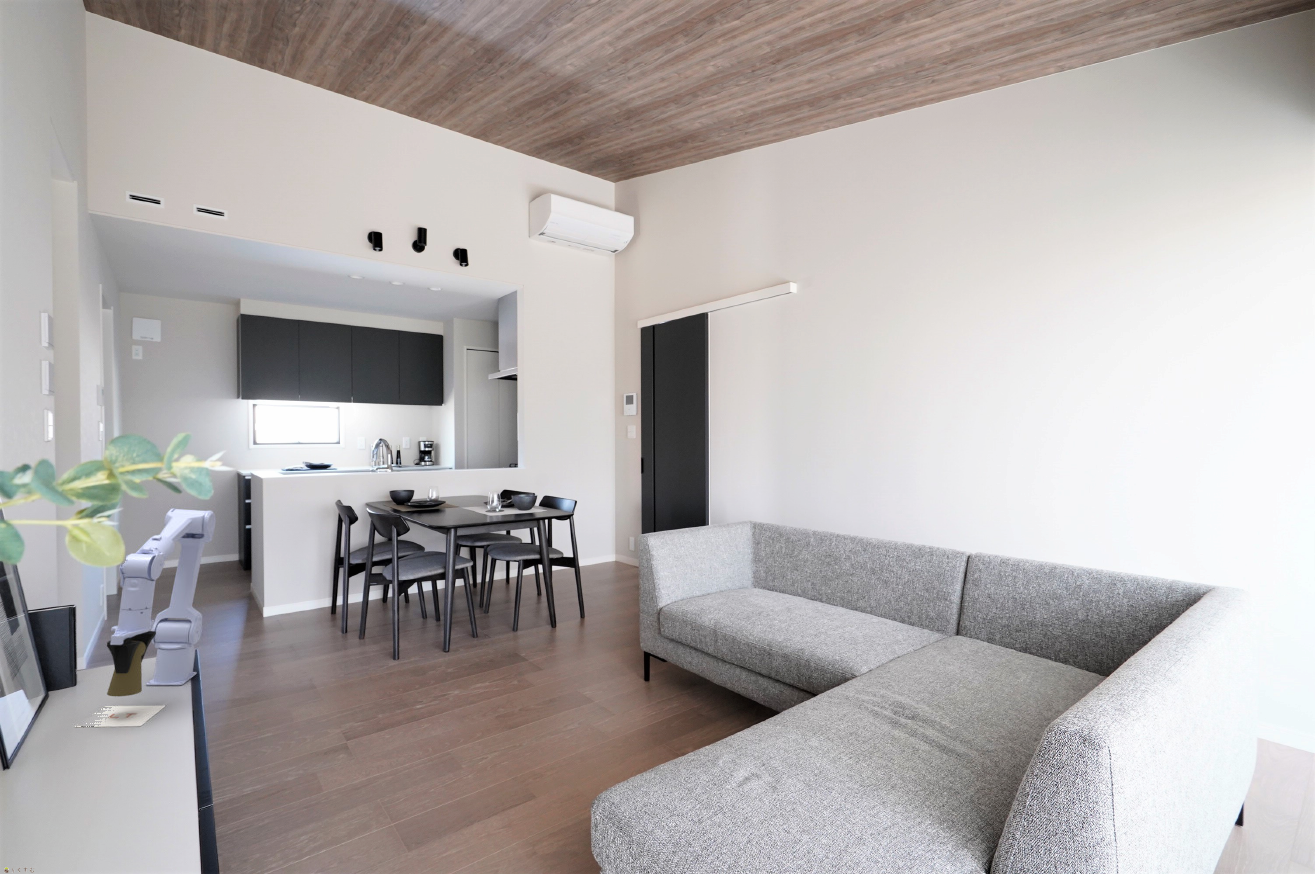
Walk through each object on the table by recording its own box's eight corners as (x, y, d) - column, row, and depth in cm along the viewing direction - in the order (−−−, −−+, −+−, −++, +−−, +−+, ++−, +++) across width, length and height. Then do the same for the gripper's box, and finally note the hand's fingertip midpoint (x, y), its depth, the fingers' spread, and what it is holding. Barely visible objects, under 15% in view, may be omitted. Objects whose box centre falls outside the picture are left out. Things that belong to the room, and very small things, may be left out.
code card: (105, 706, 150) (105, 705, 150) (165, 706, 153) (165, 705, 153) (74, 727, 139) (74, 726, 139) (140, 726, 142) (140, 725, 142)
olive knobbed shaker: (127, 697, 143) (134, 645, 144) (99, 695, 143) (107, 643, 144) (148, 689, 149) (155, 639, 150) (122, 687, 149) (129, 637, 150)
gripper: (131, 600, 153) (124, 658, 153) (97, 614, 139) (88, 679, 139) (166, 601, 155) (159, 659, 154) (136, 615, 141) (127, 679, 140)
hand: (128, 668), depth 147 cm, fingers closed on olive knobbed shaker, 5 cm apart
